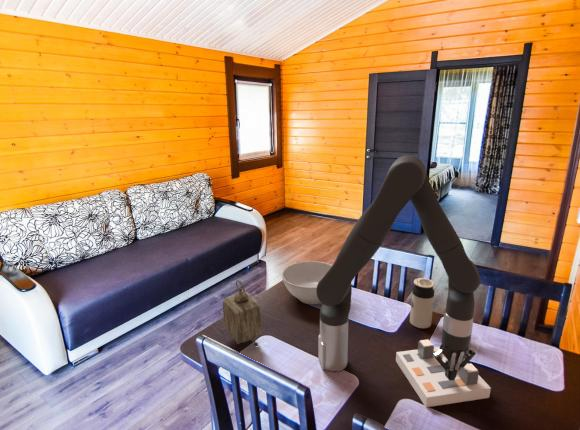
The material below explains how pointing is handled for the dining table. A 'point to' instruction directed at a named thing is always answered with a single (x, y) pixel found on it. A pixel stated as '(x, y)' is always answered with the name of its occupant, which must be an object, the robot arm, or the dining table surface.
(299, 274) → the decorative bowl
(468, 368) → the grey block
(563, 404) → the dining table surface
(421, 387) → the tray
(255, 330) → the brown wooden lantern
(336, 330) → the robot arm
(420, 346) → the knob far
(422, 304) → the travel mug
